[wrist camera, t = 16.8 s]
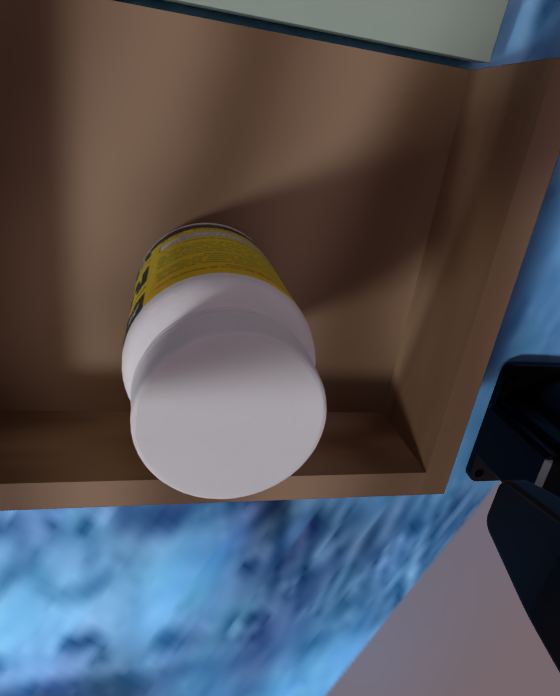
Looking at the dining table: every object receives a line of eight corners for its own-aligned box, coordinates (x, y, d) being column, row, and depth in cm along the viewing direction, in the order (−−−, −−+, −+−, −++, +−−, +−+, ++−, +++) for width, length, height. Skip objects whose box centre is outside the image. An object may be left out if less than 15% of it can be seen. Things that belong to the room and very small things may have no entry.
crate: (479, 77, 17) (589, 64, 13) (390, 419, 23) (443, 493, 18) (-127, -39, 13) (-283, -121, 8) (-52, 418, 18) (-122, 515, 14)
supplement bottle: (122, 229, 16) (79, 330, 8) (266, 212, 17) (345, 293, 9) (151, 360, 18) (136, 534, 10) (277, 341, 19) (348, 491, 11)
